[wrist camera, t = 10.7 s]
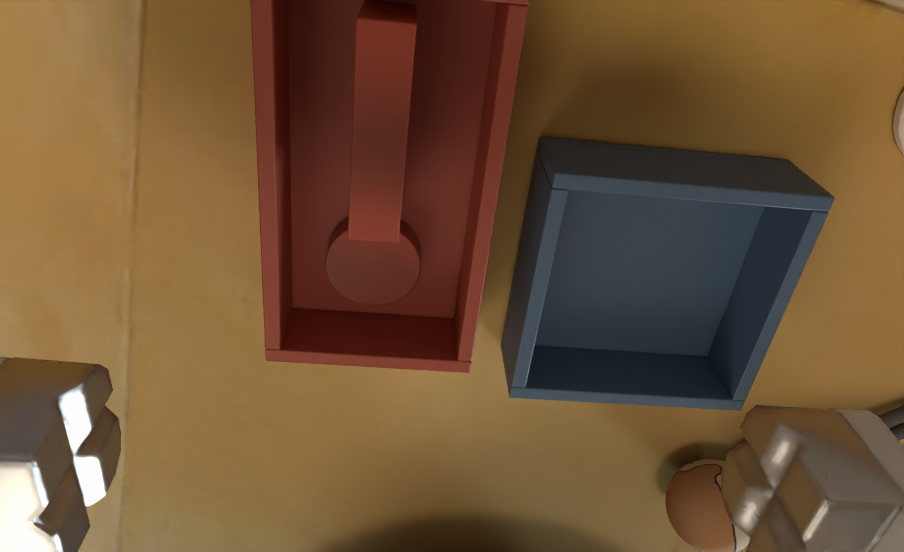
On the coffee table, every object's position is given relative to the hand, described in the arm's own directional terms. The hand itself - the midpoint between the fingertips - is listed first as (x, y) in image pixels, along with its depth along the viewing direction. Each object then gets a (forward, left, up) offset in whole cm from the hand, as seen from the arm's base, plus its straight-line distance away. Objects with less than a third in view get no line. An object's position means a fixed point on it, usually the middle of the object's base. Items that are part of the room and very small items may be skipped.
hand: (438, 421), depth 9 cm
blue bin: (+8, +10, -19) cm, 22 cm away
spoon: (+4, -1, -18) cm, 18 cm away
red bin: (+4, -1, -19) cm, 19 cm away
